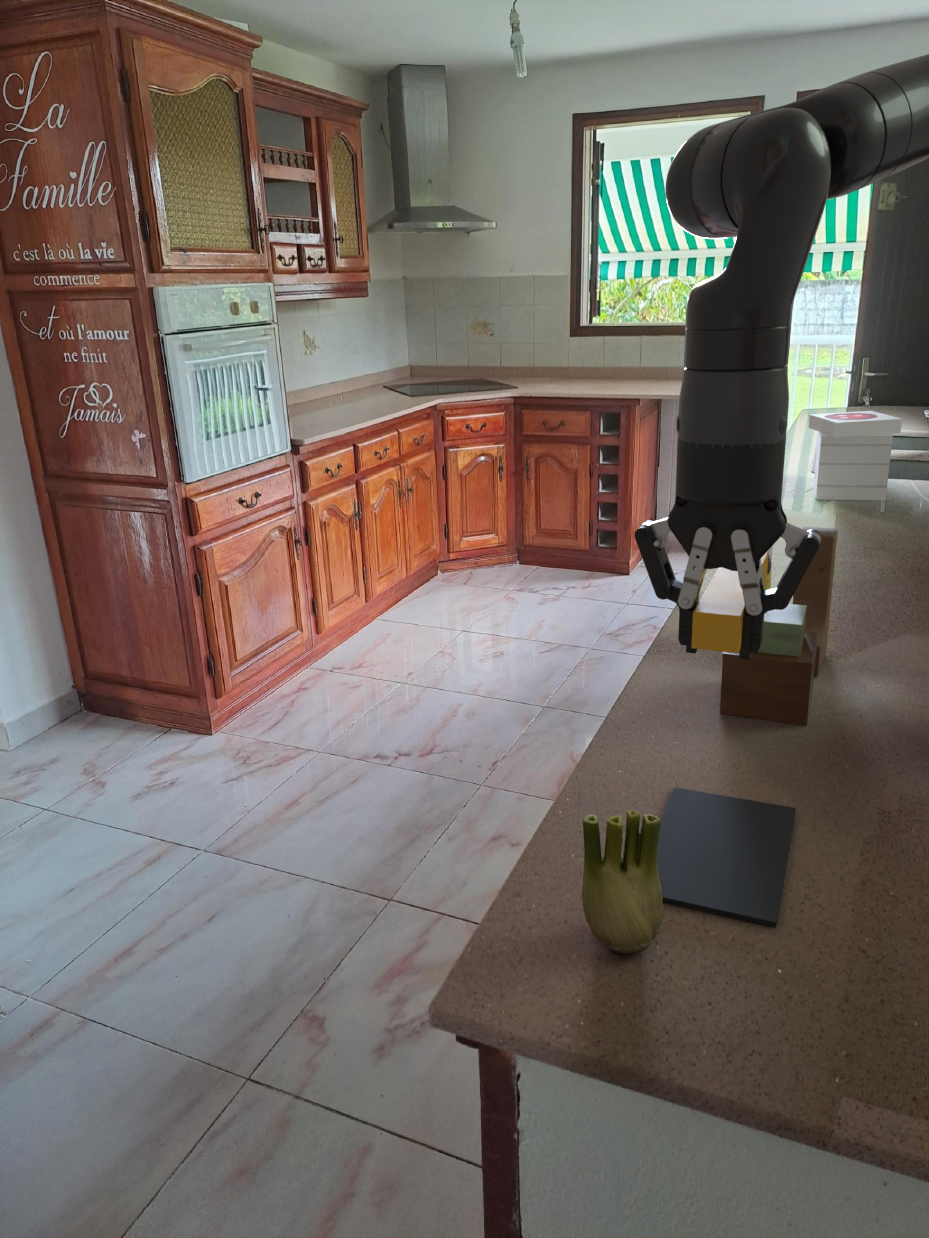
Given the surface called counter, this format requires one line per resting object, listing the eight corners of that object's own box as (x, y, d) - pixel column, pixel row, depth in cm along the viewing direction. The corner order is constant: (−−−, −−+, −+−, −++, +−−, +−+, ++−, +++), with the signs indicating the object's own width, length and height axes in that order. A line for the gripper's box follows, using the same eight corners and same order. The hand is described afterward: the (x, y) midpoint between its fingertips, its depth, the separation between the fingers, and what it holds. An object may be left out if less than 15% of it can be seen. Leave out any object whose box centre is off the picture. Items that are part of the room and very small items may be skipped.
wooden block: (818, 677, 116) (830, 545, 109) (782, 672, 118) (792, 543, 111) (826, 652, 123) (838, 527, 117) (792, 648, 125) (802, 525, 119)
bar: (727, 578, 83) (729, 548, 82) (766, 581, 81) (768, 550, 80) (691, 648, 67) (692, 611, 66) (738, 653, 66) (740, 616, 65)
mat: (673, 790, 92) (673, 786, 92) (795, 812, 87) (795, 807, 87) (631, 895, 77) (631, 890, 77) (776, 927, 72) (776, 922, 72)
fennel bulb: (577, 946, 71) (576, 819, 67) (602, 910, 75) (602, 788, 71) (646, 970, 68) (649, 840, 64) (667, 932, 72) (671, 806, 68)
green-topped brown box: (731, 681, 116) (736, 595, 112) (812, 690, 112) (820, 602, 108) (719, 713, 108) (724, 622, 103) (806, 725, 104) (815, 631, 99)
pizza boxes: (881, 476, 225) (889, 404, 219) (895, 503, 198) (905, 422, 192) (801, 475, 231) (807, 405, 225) (805, 501, 204) (811, 422, 198)
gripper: (840, 425, 64) (818, 645, 70) (645, 423, 69) (641, 627, 75) (834, 442, 57) (811, 683, 63) (621, 438, 63) (618, 660, 69)
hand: (718, 651), depth 69 cm, fingers closed on bar, 3 cm apart
